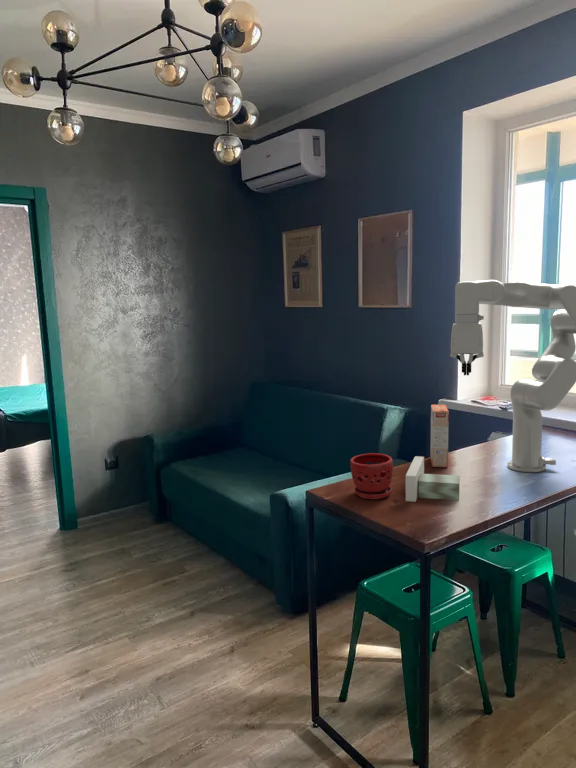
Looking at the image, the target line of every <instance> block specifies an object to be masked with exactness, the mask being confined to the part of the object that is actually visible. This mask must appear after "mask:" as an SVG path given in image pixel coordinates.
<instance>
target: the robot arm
mask: <svg viewBox="0 0 576 768" xmlns="http://www.w3.org/2000/svg"><path fill="white" fill-rule="evenodd" d="M454 288H455V289H454V290H455V293H454V294H455V295H454V301H455V302H454V323H453V324H452V328H451V332H450V333H451V334H450V354H449V357H450V358H454V359H457V360H458V361H459V362H460V363H461V373H463V376H470V374H471V373H472V363H473V362H474V361H475V360H476V359H479V358H483V357H484V356H485V355H484V351H483V350H484V334H483V326H482V325H483V324H482V323H481V322H480V321H484V318H485V317H484V315H481V314H480V305H489V306H490V305H493V306H504V307H505V306H506V307H511V308H524V309H525V308H526V309H541V310H556V311H555V312H554V313H553V314H552V316H551V318H550V329H551V340H550V343H549V344H548V346H547V347H546V349H545V350H543V353H542V354H541V355H540V357H539V358H538V359H537V360H536V361H535V363H534V364H533V366H532V368H531V375H532V377H533V378H534V379H531V378H521V379H518V380H517V381H515V382H514V383H513V384H512V386H511V388H510V399H511V400H510V401H511V405H512V441H511V442H512V445H511V446H512V449H511V450H512V453H511V460H509V461H508V462H506V463H507V464H506V465H507V468H508V469H510V470H513V471H516V472H521V473H540V472H544V471H545V470H546V468H547V466H546V465H551V466H557V464H556V463H557V460H556V459H553V458H551V457H550V458H549V457H544V456H543V454H542V445H543V444H542V443H543V442H542V441H543V440H542V439H543V415H542V411H551V410H554V409H555V408H557V407H558V406H559V404H560V403H562V401H563V400H564V398H565V397H566V396H567V395H568V393H569V392H570V391H571V389H572V388H573V387H574V386H575V384H576V360H574V359H573V358H572V357H573V356H574V355H575V352H576V341H575V335H576V286H575V285H574V284H572V283H561V284H560V283H558V284H550V283H539V282H536V283H535V282H529V281H513V282H501V281H499V280H496V279H488V280H486V279H485V280H475V281H470V280H468V281H460V282H459V281H458V282H457V283H456V284H455V286H454ZM574 334H575V335H574ZM465 355H468V360H467V362H466V360H465Z"/></svg>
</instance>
